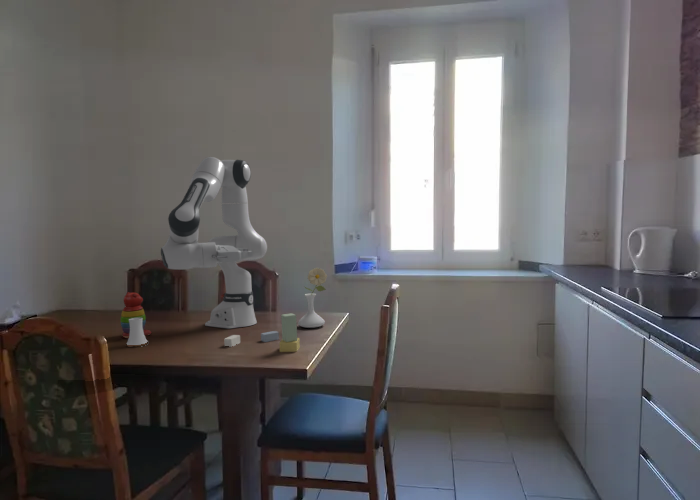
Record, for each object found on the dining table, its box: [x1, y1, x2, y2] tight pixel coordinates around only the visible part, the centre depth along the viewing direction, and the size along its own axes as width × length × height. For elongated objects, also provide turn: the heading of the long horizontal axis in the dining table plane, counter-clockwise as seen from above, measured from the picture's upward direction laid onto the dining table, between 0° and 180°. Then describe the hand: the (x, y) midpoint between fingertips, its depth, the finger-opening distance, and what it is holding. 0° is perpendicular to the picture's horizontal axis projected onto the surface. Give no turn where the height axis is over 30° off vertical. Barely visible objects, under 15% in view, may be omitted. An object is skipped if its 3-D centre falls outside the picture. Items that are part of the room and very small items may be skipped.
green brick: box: [280, 312, 298, 342], centre depth 172 cm, size 4×4×9 cm
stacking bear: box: [120, 291, 152, 336], centre depth 199 cm, size 11×10×18 cm
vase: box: [125, 318, 149, 345], centre depth 184 cm, size 8×8×10 cm
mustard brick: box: [278, 337, 301, 353], centre depth 173 cm, size 6×6×4 cm
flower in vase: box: [297, 267, 328, 329], centre depth 206 cm, size 13×11×25 cm
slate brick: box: [260, 330, 280, 343], centre depth 186 cm, size 6×3×3 cm, turn 128°
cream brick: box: [224, 334, 241, 348], centre depth 181 cm, size 6×3×3 cm, turn 162°
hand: (250, 252), depth 178 cm, fingers open, 8 cm apart
